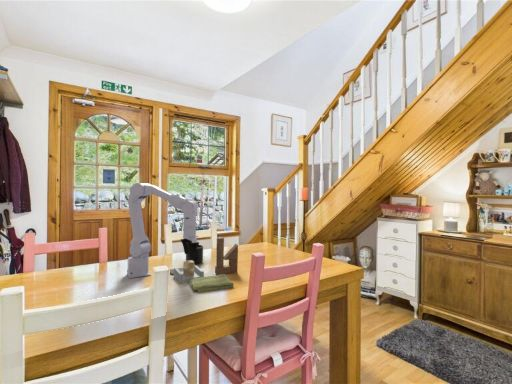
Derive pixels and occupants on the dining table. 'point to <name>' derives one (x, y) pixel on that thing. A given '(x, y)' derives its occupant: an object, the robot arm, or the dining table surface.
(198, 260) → the mug
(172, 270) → the pad
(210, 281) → the washcloth
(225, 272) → the brown angular piece
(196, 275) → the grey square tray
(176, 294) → the dining table surface
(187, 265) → the block
